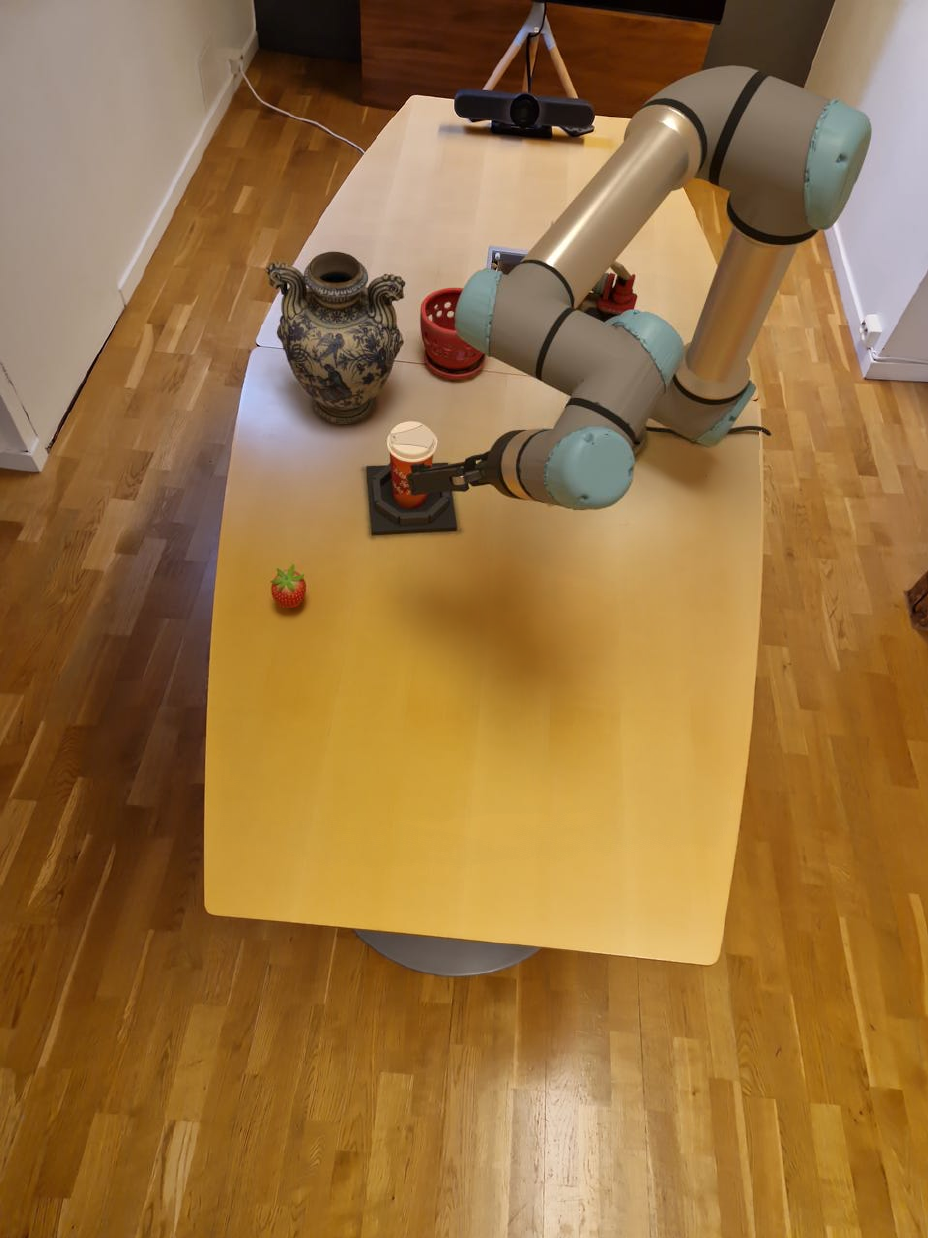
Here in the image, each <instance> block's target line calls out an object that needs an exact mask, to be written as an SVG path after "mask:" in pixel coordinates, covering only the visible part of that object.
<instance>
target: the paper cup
mask: <svg viewBox="0 0 928 1238" xmlns="http://www.w3.org/2000/svg"><path fill="white" fill-rule="evenodd" d="M386 447H387V450H388V453H389V463H390V464H391V475H392V486H393V494H394V499H395V501H396V503H397V504H398V505H399V506H401V507H403V508H406V509H415V508H418V507H420V506H422V505H423V504H424V503H425V501H426V499H427V494H422V495H417V496H414V495H413V496H412V495H411V492H410V489H409V485H408V481H407V478H406V475H407V474H409V473H412V471H411V468H410V465H414V464H421V463H424V465H431V468H432V463H433V462H434V461H433V460H434V454H435V452H436V451H437V447H438V438H437V436H436V435H435V433H434V432H433V431H432V430H431V429H430V428H429V427H428V426H427V425H426V424H424V423H422V422H419V421H413V420H412V421H404V422H400V423H399V424H396V425H395V426H393V428H392V429H391V431H390V433H389V434H388V435H387V439H386Z"/></svg>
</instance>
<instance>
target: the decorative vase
mask: <svg viewBox="0 0 928 1238" xmlns="http://www.w3.org/2000/svg"><path fill="white" fill-rule="evenodd" d="M265 272H266V274H267V275H268V279H269V280H268V285H269V286H270V287H272V288H273V289H275V290H278V289H280V294H281V295H282V298H281V304H280V311H281V314H282V315H280V317H279V325H278V327H277V330H276V335H277V338H278V339H279V340H280V342H281V344H282V348H283V351H284V352H285V355H286V356H285V357H286V360H287V363H288V365H289V367H290V369H291V371H292V373H293V375H294V378H295V379H296V381H297V382H298V383H299V385H300V386H301V388H302V389H303V390H304V391H305V392H306V394H307V395H308V396H309V397H311V399H313V404H314V408H315V411H316V413H317V414H318V416H320V417H321V418H322V419H324V420H326V421H327V422H329V423H331V424H332V423H333V424H338V425H350V424H355V423H358V422H360V421H362V420H364V419H365V418H367V417H369V415H370V413H371V412H372V411H373V408H374V401H375V400H374V398H375V397H376V396H377V395H378V394H379V393H380V392H381V390H382V389H383V388H384V385H385V384H386V382H387V381H388V379H389V377H390V375H391V373H392V370H393V366H394V362H395V359H396V358H397V356H398V354H399V353H400V351H401V348H402V347H403V345H404V343H405V340H404V338H403V333H402V332H401V330H400V329H399V327H398V324H397V323H398V320H397V319H398V317H397V312H396V310H395V309H396V308H395V306H394V305H393V302H395V301H396V302H399V301H400V300H403V299H404V298H405V294H404V287H405V286H406V282H405V281H404V280H403V278H402V276H400V275H395V274H394V273H390V274H388V273H384V274H383V275H381V276H378V277H376V278H374V279H373V280H372V281H370V283H369V284H368V282H369V273H368V271H367V269H366V266H364V265H363V264H362V263H361V262H360V261H359V260H358V259H357V258H355V257H354V256H353V255H351V254H349V253H346V252H341V251H328V252H323V253H319V254H318V255H316V256H315V257H313V258H312V259H311V261H310V262H309V263H308V264H307V265H306V267H305V269H304V272H303V273H302V272H301V271H300V270H299V269H297V268H296V267H294V266H291V265H289V263H287V262H285V261H282V262H280V261H275V262H269V264H268V266H267V267H266V268H265ZM367 284H368V286H367ZM288 286H289V287H288Z"/></svg>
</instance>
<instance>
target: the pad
mask: <svg viewBox="0 0 928 1238" xmlns="http://www.w3.org/2000/svg"><path fill="white" fill-rule="evenodd" d="M443 465H449V463H448V462H432V467H438V466H443ZM365 468H366V480H367V481H366V482H367V495H368V507H369V518H370V530H371V531H370V532H371V536H383V535H401V534H402V535H403V534H420V533H423V534H424V533H439V532H440V533H441V532H456V531H458V524H457V518H456V510H455V503H454V497H453V491H450V492H441V493H431V494H427V499H426V501H425V503H424V504H423V505H422V506H420V507H418V508H415V509H406V508H403V507H401V506H399V505H398V504H397V503H396V501H395V499H394V494H393V486H392V475H391V464H390V462H389V463H388V464H385V465H366V467H365Z"/></svg>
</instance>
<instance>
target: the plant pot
mask: <svg viewBox="0 0 928 1238" xmlns="http://www.w3.org/2000/svg"><path fill="white" fill-rule="evenodd" d="M463 289H464V287H447V288H442V289H437V290H435V291H433V292H431V293H430V294H429V295H427V296H426V297H425V298H424V299H423V301H422V302H421V304H420V310H419V311H420V312H419V313H420V314H419V326H420V334H421V340H422V343H423V346H424V350H423V351H424V352H423V359H424V362H425V364H426V366H427V367H428V368H429V369H430V371H432V372H433V373H434V374H435V375H438V376H439V377H443V378H445V379H450V380H463V379H467V378H469V377H470V378H471V377H472V376H474V375H476V374H477V373H478V372H479V371H481V369H482V368H483V367H484V365H485V363H486V355H485V354H484V353H483V352H481V351H479V350H478V349H476V348H474V347H473V346H471V345H470V344H468V343H467V342H465V341H463V340H462V339H461V338H460V337H459V336H458V334H457V332H456V329H455V311H456V306H457V303H458V300H459V297H460V295H461V293H462V291H463ZM448 303H450V304H449V306H448V307H446V306H445V305H446V304H448ZM438 312H441V313H440V315H439V316H438ZM449 312H452V313H453V315H452V316H448V314H449ZM430 316H431V319H430V318H429V317H430Z"/></svg>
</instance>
